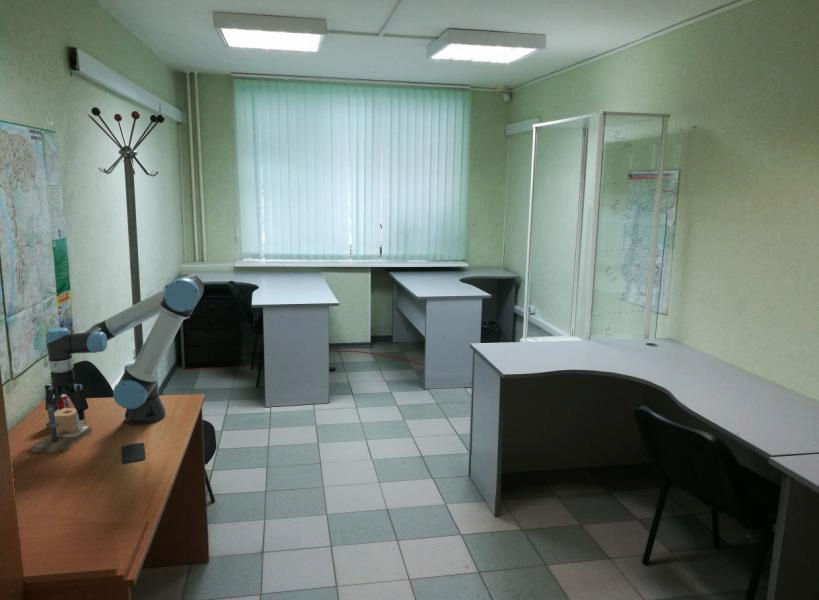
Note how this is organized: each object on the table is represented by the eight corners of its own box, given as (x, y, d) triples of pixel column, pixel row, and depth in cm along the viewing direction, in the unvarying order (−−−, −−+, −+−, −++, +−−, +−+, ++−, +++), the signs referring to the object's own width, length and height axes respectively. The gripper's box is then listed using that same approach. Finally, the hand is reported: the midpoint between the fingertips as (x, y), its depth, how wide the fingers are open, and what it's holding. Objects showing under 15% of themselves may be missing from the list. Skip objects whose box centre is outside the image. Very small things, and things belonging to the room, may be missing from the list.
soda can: (64, 428, 232) (60, 399, 230) (48, 426, 234) (44, 397, 231) (77, 421, 239) (73, 392, 237) (62, 420, 241) (58, 391, 238)
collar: (86, 423, 227) (84, 408, 226) (72, 431, 219) (70, 416, 218) (66, 422, 228) (64, 407, 227) (52, 431, 220) (50, 415, 219)
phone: (121, 463, 201) (121, 446, 214) (122, 465, 201) (122, 448, 214) (145, 458, 204) (144, 442, 217) (145, 461, 204) (144, 444, 217)
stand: (91, 432, 228) (86, 392, 225) (60, 452, 211) (54, 410, 207) (64, 431, 229) (59, 391, 226) (31, 451, 212) (25, 409, 208)
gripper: (28, 372, 216) (36, 431, 221) (82, 373, 215) (89, 432, 219) (42, 366, 224) (50, 423, 228) (94, 367, 222) (101, 424, 226)
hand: (69, 427), depth 224 cm, fingers closed on collar, 8 cm apart
